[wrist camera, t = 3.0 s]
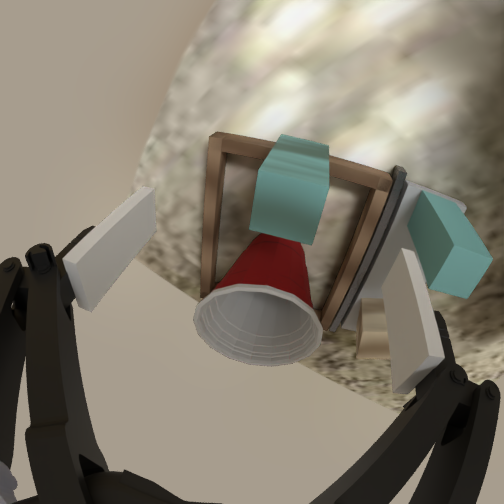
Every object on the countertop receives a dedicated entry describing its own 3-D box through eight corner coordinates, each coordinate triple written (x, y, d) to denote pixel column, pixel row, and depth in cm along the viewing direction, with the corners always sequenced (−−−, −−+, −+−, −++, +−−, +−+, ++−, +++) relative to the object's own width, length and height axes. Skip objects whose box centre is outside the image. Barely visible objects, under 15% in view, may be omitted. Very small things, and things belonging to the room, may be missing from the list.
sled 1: (218, 117, 25) (158, 151, 17) (393, 159, 24) (427, 217, 15) (205, 287, 39) (172, 353, 30) (327, 319, 37) (320, 393, 28)
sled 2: (405, 179, 24) (437, 238, 16) (462, 202, 24) (505, 264, 16) (341, 321, 37) (337, 389, 29) (388, 331, 36) (392, 397, 28)
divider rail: (395, 165, 24) (399, 170, 23) (403, 167, 24) (407, 173, 23) (329, 322, 38) (329, 330, 36) (335, 323, 37) (334, 332, 36)
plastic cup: (292, 301, 37) (274, 384, 28) (217, 257, 36) (177, 334, 26) (349, 245, 30) (351, 335, 21) (262, 188, 29) (226, 262, 20)
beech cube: (361, 297, 32) (362, 331, 28) (402, 298, 31) (408, 331, 27) (356, 326, 35) (356, 358, 31) (393, 327, 34) (397, 359, 30)
